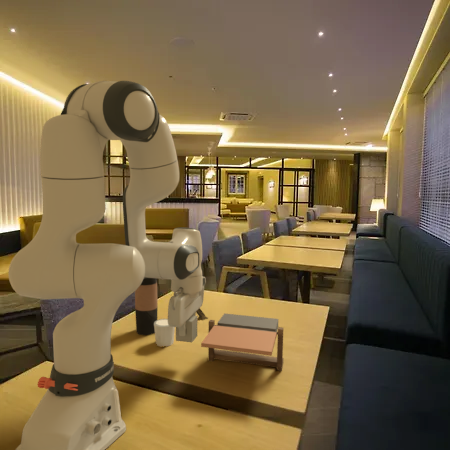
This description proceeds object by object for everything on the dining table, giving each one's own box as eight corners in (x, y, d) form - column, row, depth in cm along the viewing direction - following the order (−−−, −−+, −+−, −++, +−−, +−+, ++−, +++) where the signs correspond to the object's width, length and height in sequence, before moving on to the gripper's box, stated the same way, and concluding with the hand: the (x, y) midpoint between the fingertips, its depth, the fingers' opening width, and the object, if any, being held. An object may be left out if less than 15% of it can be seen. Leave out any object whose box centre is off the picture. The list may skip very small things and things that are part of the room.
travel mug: (155, 325, 129) (155, 272, 126) (159, 333, 121) (159, 277, 119) (134, 328, 126) (133, 273, 124) (137, 336, 119) (136, 279, 117)
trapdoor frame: (281, 371, 97) (283, 329, 96) (208, 360, 103) (208, 321, 101) (283, 362, 102) (284, 323, 101) (212, 353, 107) (213, 315, 106)
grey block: (191, 342, 98) (192, 321, 97) (175, 340, 99) (175, 320, 98) (197, 335, 102) (197, 316, 102) (181, 334, 104) (181, 314, 103)
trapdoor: (271, 360, 85) (271, 351, 85) (201, 351, 90) (201, 342, 90) (279, 326, 106) (280, 319, 106) (222, 320, 111) (222, 313, 110)
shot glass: (171, 348, 110) (170, 327, 110) (150, 346, 112) (150, 325, 111) (178, 339, 117) (178, 319, 116) (158, 337, 118) (158, 317, 118)
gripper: (184, 294, 89) (184, 347, 90) (207, 276, 108) (207, 320, 110) (161, 292, 90) (161, 344, 91) (188, 275, 110) (188, 318, 111)
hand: (186, 331), depth 101 cm, fingers closed on grey block, 5 cm apart
